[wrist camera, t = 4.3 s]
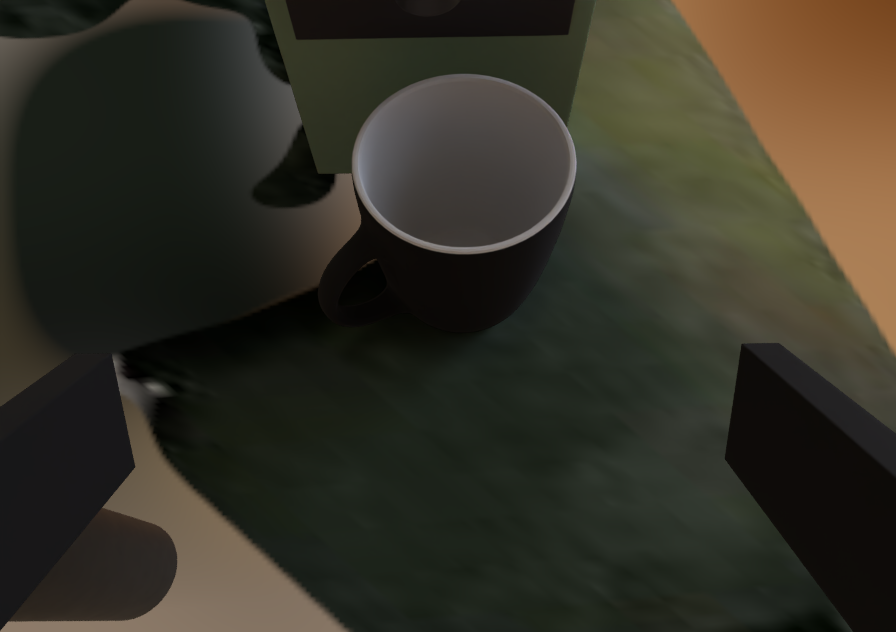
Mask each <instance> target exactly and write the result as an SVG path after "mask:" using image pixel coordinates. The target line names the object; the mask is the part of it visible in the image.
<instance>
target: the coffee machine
mask: <svg viewBox="0 0 896 632" xmlns="http://www.w3.org/2000/svg"><path fill="white" fill-rule="evenodd" d="M265 3H266V6H267V9H268V12H269V16H270V19H271V22H272V25H273V29H274V32H275V35H276V38H277V42H278V45H279V48H280V51H281V55H282V58H283V61H284V64H285V68H286V71H287V74H288V77H289V81H290V84H291V87H292V90H293V94H294V97H295V100H296V103H297V107H298V110H299V113H300V116H301V120H302V123H303V126H304V129H305V133H306V136H307V139H308V142H309V146H310V149H311V152H312V155H313V159H314V162H315V165H316V168H317V172H318V174H339V173H352V166H351V164H352V153H353V148H354V144H355V141H356V138H357V135H358V133H359V131H360V129H361V127H362V126H363V124H364V122H365V121H366V119H367V118H368V117H369V115H370V114H371V113H372V112H373V111H374V110H375V109H376V108H377V107H378V106H379V105H380V104H381V103H382V102H383V101H384V100H386V99H387V98H388V97H390V96H391V95H393V94H394V93H396V92H398V91H399V90H401V89H403V88H405V87H407V86H409V85H411V84H414V83H416V82H419V81H422V80H425V79H428V78H433V77H437V76H443V75H451V74H477V75H485V76H491V77H495V78H499V79H503V80H506V81H509V82H512V83H514V84H517V85H519V86H521V87H523V88H525V89H527V90H529V91H530V92H532V93H534V94H535V95H537V96H538V97H539V98H541V99H542V100H543V101H545V102H546V103H547V104H548V105H549V106H550V107H551V108H552V109H553V110H554V111H555V112H556V113H557V114H558V116H559V117H560V118H561V119H562V121H563V122H564V124H565V126H566V127H567V126H568V121H569V117H570V112H571V108H572V104H573V99H574V95H575V91H576V86H577V82H578V77H579V73H580V69H581V64H582V60H583V56H584V51H585V47H586V42H587V38H588V34H589V29H590V25H591V21H592V16H593V12H594V7H595V3H596V0H265Z"/></svg>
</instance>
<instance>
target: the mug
mask: <svg viewBox="0 0 896 632" xmlns="http://www.w3.org/2000/svg"><path fill="white" fill-rule="evenodd" d="M351 166H352V179H353V185H354V191H355V195H356V199H357V203H358V207H359V211H360V214H361V225H360V227H359V229H358V231H357V232H356V233H355V234H354V235H353V237H352V238H351V239H350V240H349V241H348V242H347V243H346V244H345V245H344V246H343V247H342V248H341V249H340V250H339V251H338V253H337V254H336V255H335V256H334V257H333V258H332V260H331V261H330V263H329V264H328V265H327V267H326V269H325V271H324V273H323V275H322V277H321V280H320V284H319V288H318V299H319V304H320V306H321V308H322V310H323V312H324V313H325V315H326V316H327V317H328V318H329V319H330V320H331V321H333V322H334V323H336V324H338V325H341V326H345V327H360V326H365V325H369V324H372V323H375V322H378V321H380V320H383V319H385V318H388V317H390V316H393V315H396V314H400V313H411V314H413V315H414V316H416V317H417V318H418V319H420V320H421V321H423V322H424V323H426V324H428V325H430V326H432V327H435V328H438V329H441V330H444V331H449V332H457V333H467V332H475V331H480V330H484V329H487V328H489V327H492V326H494V325H496V324H498V323H500V322H501V321H503V320H504V319H506V318H507V317H508V316H510V315H511V314H512V313H513V312H514V311H515V310H516V309H517V308H518V307H519V306H520V305H521V304H522V303H523V301H524V300H525V299H526V298H527V296H528V295H529V293H530V292H531V290H532V289H533V287H534V286H535V284H536V282H537V281H538V279H539V277H540V275H541V273H542V271H543V270H544V268H545V266H546V264H547V261H548V259H549V257H550V255H551V253H552V250H553V248H554V246H555V243H556V241H557V238H558V236H559V234H560V231H561V228H562V226H563V223H564V220H565V217H566V214H567V211H568V208H569V205H570V201H571V198H572V194H573V190H574V185H575V179H576V167H577V162H576V152H575V148H574V144H573V141H572V138H571V135H570V133H569V131H568V129H567V127H566V126H565V124H564V122H563V121H562V119H561V118H560V117H559V116H558V114H557V113H556V112H555V111H554V110H553V109H552V108H551V107H550V106H549V105H548V104H547V103H546V102H545V101H543V100H542V99H541V98H539V97H538V96H537V95H535V94H534V93H532V92H530V91H529V90H527V89H525V88H523V87H521V86H519V85H517V84H514V83H512V82H509V81H506V80H503V79H499V78H495V77H491V76H485V75H477V74H451V75H443V76H437V77H433V78H428V79H425V80H422V81H419V82H416V83H414V84H411V85H409V86H407V87H405V88H403V89H401V90H399V91H398V92H396V93H394V94H393V95H391V96H390V97H388V98H387V99H386V100H384V101H383V102H382V103H381V104H380V105H379V106H378V107H377V108H376V109H375V110H374V111H373V112H372V113H371V114H370V115H369V117H368V118H367V119H366V121H365V122H364V124H363V126H362V127H361V129H360V131H359V133H358V135H357V138H356V141H355V144H354V148H353V153H352V164H351ZM373 259H377V260H378V262H379V265H380V267H381V269H382V271H383V273H384V275H385V277H386V280H387V285H386V288H385V289H384V290H383V292H381V293H380V294H379V295H378V296H376V297H375V298H373V299H371V300H369V301H366V302H363V303H360V304H356V305H350V306H341V305H338V301H339V298H340V295H341V293H342V291H343V289H344V287H345V286H346V284H347V283H348V281H349V280H350V279H351V277H352V276H353V275H354V274H355V273H356V272H357V271H358V270H359V269H360V268H361V267H362V266H363V265H365V264H366V263H367V262H369V261H371V260H373Z"/></svg>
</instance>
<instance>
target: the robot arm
mask: <svg viewBox="0 0 896 632" xmlns="http://www.w3.org/2000/svg"><path fill="white" fill-rule="evenodd" d="M725 460H726V461H727V463H728V464H729V465H730V467H731V468H732V469H733V471H734V472H735V473H736V475H737V476H738V477H739V479H740V480H741V481H742V483H743V484H744V485H745V487H746V488H747V490H748V491H749V492H750V494H751V495H752V496H753V498H754V499H755V500H756V502H757V503H758V504H759V506H760V507H761V508H762V510H763V511H764V512H765V514H766V515H767V516H768V518H769V519H770V520H771V522H772V523H773V524H774V526H775V527H776V528H777V530H778V531H779V533H780V534H781V535H782V537H783V538H784V539H785V541H786V542H787V543H788V545H789V546H790V547H791V549H792V550H793V551H794V553H795V554H796V555H797V557H798V558H799V559H800V561H801V562H802V563H803V565H804V566H805V567H806V569H807V570H808V572H809V573H810V574H811V576H812V577H813V578H814V580H815V581H816V582H817V584H818V585H819V586H820V588H821V589H822V590H823V592H824V593H825V594H826V596H827V597H828V598H829V600H830V601H831V602H832V604H833V605H834V606H835V608H836V609H837V610H838V612H839V613H840V615H841V616H842V617H843V619H844V620H845V621H846V623H847V624H848V625H849V627H850V628H851V629H852V631H853V632H896V433H894V432H893V431H892V430H890V429H889V428H888V427H887V426H885V425H884V424H883V423H881V422H880V421H879V420H877V419H876V418H875V417H874V416H872V415H871V414H870V413H868V412H867V411H866V410H865V409H863V408H862V407H861V406H859V405H858V404H857V403H856V402H854V401H853V400H852V399H850V398H849V397H848V396H846V395H845V394H844V393H843V392H841V391H840V390H839V389H837V388H836V387H835V386H834V385H832V384H831V383H830V382H828V381H827V380H826V379H824V378H823V377H822V376H821V375H819V374H818V373H817V372H815V371H814V370H813V369H812V368H810V367H809V366H808V365H806V364H805V363H804V362H803V361H801V360H800V359H799V358H797V357H796V356H795V355H793V354H792V353H791V352H790V351H788V350H787V349H786V348H784V347H783V346H782V345H781V344H779V343H754V344H742V345H741V352H740V359H739V366H738V372H737V379H736V386H735V393H734V399H733V406H732V413H731V420H730V426H729V433H728V440H727V447H726V454H725ZM134 468H135V464H134V459H133V454H132V449H131V445H130V440H129V435H128V431H127V425H126V421H125V416H124V411H123V407H122V402H121V397H120V392H119V387H118V382H117V378H116V373H115V368H114V363H113V359H112V354H111V353H100V354H99V353H97V354H74V355H73V356H71V357H70V358H68V359H67V360H66V361H64V362H63V363H61V364H60V365H58V366H57V367H56V368H54V369H53V370H51V371H50V372H49V373H47V374H46V375H44V376H43V377H42V378H40V379H39V380H38V381H36V382H35V383H33V384H32V385H30V386H29V387H28V388H26V389H25V390H24V391H22V392H21V393H19V394H18V395H16V396H15V397H14V398H12V399H11V400H9V401H8V402H7V403H5V404H4V405H2V406H1V407H0V630H1V629H2V628H3V627H4V626H5V624H6V623H7V622H8V621H9V620H10V618H11V617H12V616H13V615H14V613H15V612H16V611H17V610H18V609H19V607H20V606H21V605H22V604H23V603H24V601H25V600H26V599H27V598H28V597H29V595H30V594H31V593H32V592H33V590H34V589H35V588H36V587H37V586H38V584H39V583H40V582H41V581H42V580H43V578H44V577H45V576H46V575H47V573H48V572H49V571H50V570H51V569H52V567H53V566H54V565H55V564H56V563H57V561H58V560H59V559H60V558H61V557H62V555H63V554H64V553H65V552H66V550H67V549H68V548H69V547H70V546H71V544H72V543H73V542H74V541H75V540H76V538H77V537H78V536H79V535H80V534H81V532H82V531H83V530H84V529H85V527H86V526H87V525H88V524H89V523H90V521H91V520H92V519H93V518H94V517H95V515H96V514H97V513H98V512H99V510H100V509H101V508H102V507H103V506H104V504H105V503H106V502H107V501H108V500H109V498H110V497H111V496H112V495H113V493H114V492H115V491H116V490H117V489H118V487H119V486H120V485H121V484H122V483H123V481H124V480H125V479H126V478H127V477H128V475H129V474H130V473H131V472H132V470H133V469H134Z"/></svg>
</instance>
